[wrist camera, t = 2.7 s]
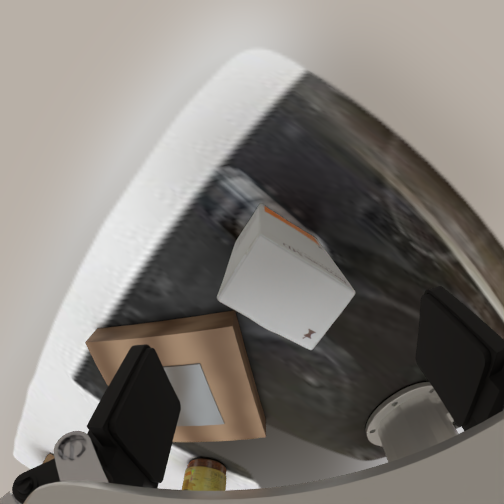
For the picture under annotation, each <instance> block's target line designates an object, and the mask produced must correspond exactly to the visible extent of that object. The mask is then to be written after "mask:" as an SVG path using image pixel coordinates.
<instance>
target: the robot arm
mask: <svg viewBox="0 0 504 504" xmlns="http://www.w3.org/2000/svg"><path fill="white" fill-rule="evenodd" d="M416 361H417V364H418V366H419V367H420V369H421V370H422V372H423V373H424V375H425V376H426V378H427V379H428V381H429V382H423V383H418V384H415V385H412V386H409V387H407V388H405V389H402V390H400V391H399V392H397V393H395V394H394V395H392V396H391V397H389V398H388V399H387V400H385V401H384V402H383V403H382V404H381V405H379V406H378V407H377V409H376V410H375V411H374V412H373V413H372V415H371V416H370V418H369V419H368V422H367V424H366V429H365V430H366V435H367V437H368V440H369V441H370V442H371V443H373V444H374V445H378V446H383V449H384V451H385V454H386V457H387V460H388V463H386V464H382V465H379V466H376V467H372V468H369V469H366V470H362V471H359V472H355V473H351V474H346V475H342V476H338V477H333V478H329V479H324V480H319V481H313V482H308V483H302V484H295V485H289V486H281V487H272V488H262V489H249V490H230V491H190V490H171V489H157V487H158V483H161V482H162V481H163V478H164V474H165V470H166V466H167V462H168V458H169V454H170V450H171V446H172V442H173V438H174V434H175V430H176V426H177V422H178V419H179V415H180V411H181V404H180V401H179V399H178V397H177V395H176V393H175V391H174V389H173V387H172V385H171V383H170V381H169V378H168V376H167V374H166V372H165V370H164V368H163V366H162V364H161V361H160V359H159V357H158V355H157V353H156V351H155V349H154V348H151V347H150V346H149V345H147V344H144V345H134V346H132V347H131V348H130V350H129V351H128V353H127V355H126V357H125V358H124V360H123V362H122V363H121V365H120V367H119V369H118V370H117V372H116V374H115V376H114V377H113V379H112V381H111V383H110V384H109V386H108V388H107V390H106V392H105V393H104V395H103V397H102V399H101V401H100V402H99V404H98V406H97V408H96V410H95V412H94V413H93V415H92V417H91V419H90V421H89V423H88V425H87V427H88V429H89V432H88V434H86V433H84V432H81V431H73V432H70V433H67V434H65V435H64V436H62V437H61V438H60V439H59V440H58V442H57V443H56V445H55V448H54V459H52V460H50V461H48V462H46V463H44V464H41V465H39V466H37V467H35V468H33V469H31V470H29V471H27V472H24V473H22V474H21V475H19V476H18V477H17V478H16V480H15V481H14V483H13V487H12V491H13V494H12V493H10V492H8V493H7V494H5V495H4V496H3V497H2V498H1V499H0V504H504V340H503V339H502V338H501V337H500V336H499V335H498V334H497V333H496V332H494V331H493V330H492V329H491V328H490V327H489V326H488V325H487V324H486V323H484V322H483V321H482V320H481V319H480V318H479V317H478V316H476V315H475V314H474V313H473V312H472V311H471V310H469V309H468V308H467V307H466V306H465V305H464V304H462V303H461V302H460V301H459V300H458V299H456V298H455V297H454V296H453V295H452V294H450V293H449V292H448V291H447V290H445V289H444V288H443V287H441V286H438V287H435V288H432V289H428V290H426V291H425V294H424V295H423V296H422V297H421V308H420V322H419V333H418V343H417V351H416ZM452 422H455V423H456V425H457V426H458V427H461V426H462V428H463V429H464V432H462V433H460V434H458V432H457V431H456V429H455V427H454V425H453V424H452Z"/></svg>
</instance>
